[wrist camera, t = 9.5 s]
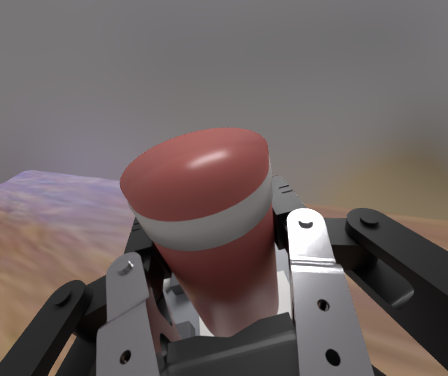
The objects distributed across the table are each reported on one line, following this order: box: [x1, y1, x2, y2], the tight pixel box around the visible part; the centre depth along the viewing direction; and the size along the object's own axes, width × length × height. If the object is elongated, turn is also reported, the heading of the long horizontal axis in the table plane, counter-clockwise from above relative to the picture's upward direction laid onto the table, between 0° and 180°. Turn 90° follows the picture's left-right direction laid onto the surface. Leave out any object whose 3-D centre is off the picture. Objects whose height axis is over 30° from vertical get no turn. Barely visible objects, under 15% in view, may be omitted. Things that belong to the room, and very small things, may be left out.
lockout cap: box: [120, 128, 279, 337], centre depth 10 cm, size 5×5×10 cm
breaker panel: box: [163, 244, 291, 339], centre depth 17 cm, size 16×19×4 cm
